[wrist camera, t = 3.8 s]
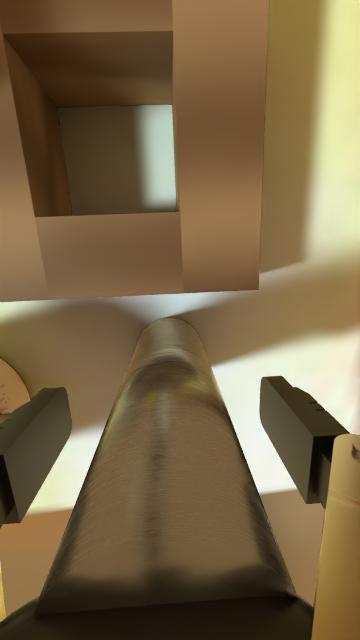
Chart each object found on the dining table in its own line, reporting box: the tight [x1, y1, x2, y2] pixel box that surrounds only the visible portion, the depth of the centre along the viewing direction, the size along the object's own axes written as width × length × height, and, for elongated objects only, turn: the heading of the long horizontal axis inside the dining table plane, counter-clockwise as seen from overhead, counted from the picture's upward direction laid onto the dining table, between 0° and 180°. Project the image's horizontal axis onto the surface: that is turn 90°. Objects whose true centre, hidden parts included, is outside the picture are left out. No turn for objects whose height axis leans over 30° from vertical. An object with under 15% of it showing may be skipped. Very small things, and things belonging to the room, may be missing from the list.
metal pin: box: [33, 318, 298, 615], centre depth 9 cm, size 4×4×12 cm
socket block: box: [0, 0, 269, 302], centre depth 11 cm, size 12×12×4 cm
